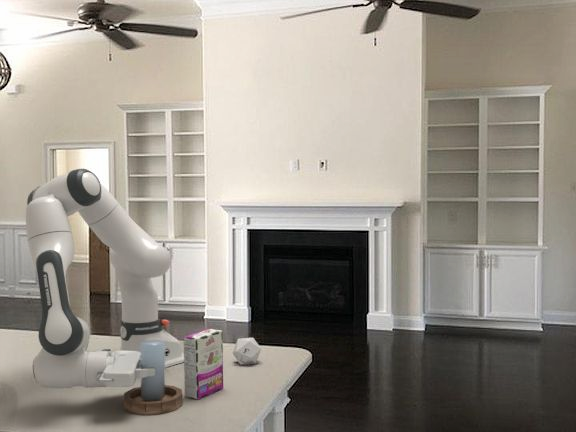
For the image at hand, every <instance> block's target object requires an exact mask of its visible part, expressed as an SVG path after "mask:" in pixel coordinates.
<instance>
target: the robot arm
mask: <svg viewBox="0 0 576 432" xmlns="http://www.w3.org/2000/svg"><path fill="white" fill-rule="evenodd" d="M26 205H27V206H26V208H25V228H26V236H27V237H26V238H27V243H28V248H29V249H28V250H29V253H30V255H31V256H30V257H31V260H32V262H33V265H34V268H35V272H36V275H37V280H38V281H37V282H38V289H39V293H40V295H39V296H40V303H41V307H42V310H41V311H42V312H41V313H42V317H41V321H40V325H39V329H38V341H39V343H40V346H41V347H42V348H41V349H40V351H39V352H38V353H37V354H36V356H35V357H34V358H33V361H32V373H33V374H32V375H33V378H34V380H35V382H36V384H37V385H39V386H40V387H42V388H45V389H46V388H47V389H72V388H77V387H81V388H82V387H83V388H87V389H88V388H91V389H92V388H107V387H109V388H110V387H111V388H130V387H133V386H134V385H135V383H136V380H137V379H141V378H144V377H148V376H155V368H148V369H141V342H143V341H147V340H162V341H164V342H165V368H168V367H171V366H175V365H177V364H181V363H184V352H182V346H181V342H180V341H179V340H178V339H177V338H176V337H174V336H173V335H171V334H170V333H169V332H167V331H166V330H165V329H164V327H165V328H166V327H169V325H170V321H169V320H168V319H161V318H159V297H158V296H159V295H158V292H157V290H156V289H155V287H154V285H153V282H152V278H153V279H154V278H157V277H161V276H163V275H165V274H167V272H168V271H169V269H170V267H171V262H172V258H171V254H170V252H169V250H168V249H167V248H166V247H164V246H163V245H161V244H160V243H159V242H157V241H156V239H153V237H152V236H151V235H150V234H148V232H147V231H145V230H144V229H143V228H142V227H141V226H140V225H138V224H137V223H136V222H135V221H134V219H132V218H131V216H130V215H129V214H128V213H127V211H126V210H125V209H124V207H123V206H122V205H121V204H120V203H119V201H118V200H117V199H116V198H115V196H114V195H113V194H112V193H111V192H110V191H109V190H108V189H107V188H106V187H105V186H104V185H102V184H101V181H100V180H99V178H98V177H97V176H96V174H95V173H93V172H92V171H90V170H89V169H86V168H77V169H73V170H71V171H69V172H67V173H64V174H63V173H62V174H61V175H58V176H55V177H54V178H52V179H51V180H49V181H47V182H45V183H44V184H42V185H39V186H37V187H36V188H34V189H33V190H32V191H31V192H30V193H28V197H27V202H26ZM75 213H78V214H79V216H81V218H82V219H83V221H84V222H85V224H87V226H88V227H89V228H90V230H91V231H92V232H93V233H94V234H95V236H96V237H97V238H98V239H99V240H100V242H102V244H104V245H106V246H107V247H108V248H109V249H110V252H109V261H110V264H111V265H112V267H113V269H114V270H115V274H116V277H117V281H118V285H119V290H120V295H121V320H120V339H121V342H120V350H119V349H118V350H113V349H112V348H105V349H102V350H99V351H98V350H97V351H87V349H88V346H89V342H90V337H91V331H90V327H89V325H88V323H87V322H86V321H85V320H84V319H82V318H80V317H79V316H76V315H75V313H74V312H73V309H72V308H71V304H70V297H69V291H68V286H67V278H66V277H67V276H66V275H67V270H68V268H69V267H70V265H71V264H72V262H73V261H74V258H75V244H74V243H75V242H74V237H73V232H72V228H71V224H70V221H69V218H68V217H70V216H73V215H74V214H75ZM163 326H164V327H163Z"/></svg>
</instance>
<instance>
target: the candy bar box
mask: <svg viewBox="0 0 576 432" xmlns="http://www.w3.org/2000/svg"><path fill="white" fill-rule="evenodd" d="M223 348H224V347H223V330H221V329H216V328H215V329H214V328H207V329H205V330H201V331H199V332H196V333H192V334H189V335H186V336H183V353H184V362H183V363H184V366H183V367H184V368H183V370H184V371H183V373H184V396H185V397H186V398H188V399H194V400H201V399H202V398H205V397H208V396H210V395H212V394H213V393H216V392H219V391H221V390H222V389H224V361H223V358H224V357H223V356H224V355H223V354H224V352H223V351H224V350H223Z"/></svg>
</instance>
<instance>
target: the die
mask: <svg viewBox="0 0 576 432" xmlns="http://www.w3.org/2000/svg"><path fill="white" fill-rule="evenodd" d="M255 339H256V338H254V337H246V338H245V337H244V338H237V340H236V342H235V346H234V348H233V351H232V355H233V356H234V358H235V360H237V362H238V364H239V365H240V366H243V365H244V364H245V365H253V364H257V361H258V359H259V356H260V353H261V351H262V347H260V345H259V343H258V342H257V341H256V340H255Z"/></svg>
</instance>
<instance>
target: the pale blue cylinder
mask: <svg viewBox="0 0 576 432" xmlns="http://www.w3.org/2000/svg"><path fill="white" fill-rule="evenodd" d="M148 368H155V376H148V377H144V378H140V387H141V399H143V400H148V401H153V400H159V399H162V398H164V397H165V385H166V382H165V381H166V379H165V377H166V373H165V371H166V370H165V369H166V367H165V342H164V341H162V340H147V341H143V342H141V369H148Z"/></svg>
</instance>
